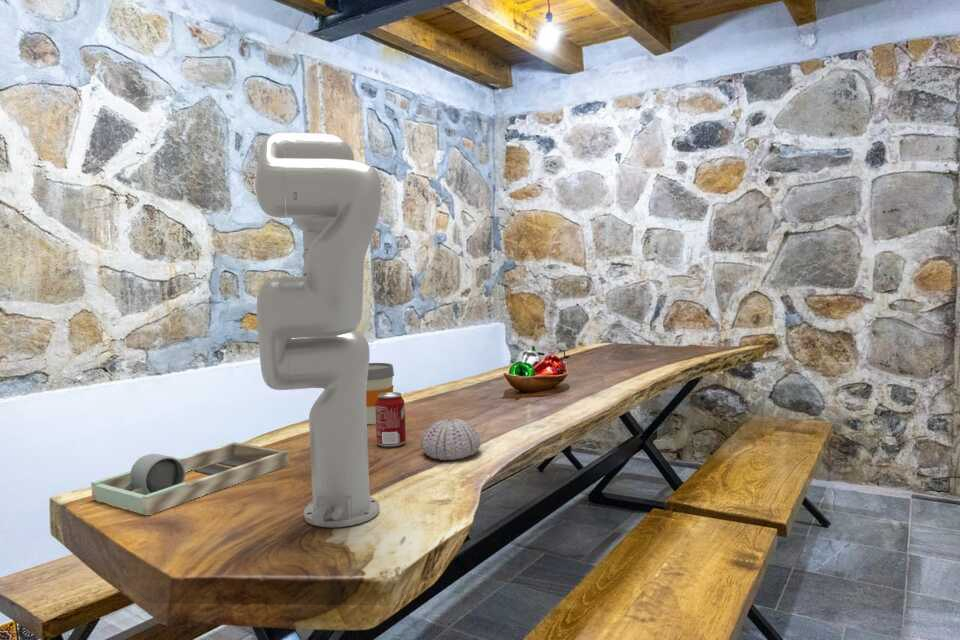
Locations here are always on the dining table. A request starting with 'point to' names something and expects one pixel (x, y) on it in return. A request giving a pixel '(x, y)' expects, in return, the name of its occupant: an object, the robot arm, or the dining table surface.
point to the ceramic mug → (155, 473)
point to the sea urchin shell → (450, 440)
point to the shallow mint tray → (126, 494)
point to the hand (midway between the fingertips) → (326, 344)
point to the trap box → (213, 473)
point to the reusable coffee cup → (377, 386)
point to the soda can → (390, 419)
